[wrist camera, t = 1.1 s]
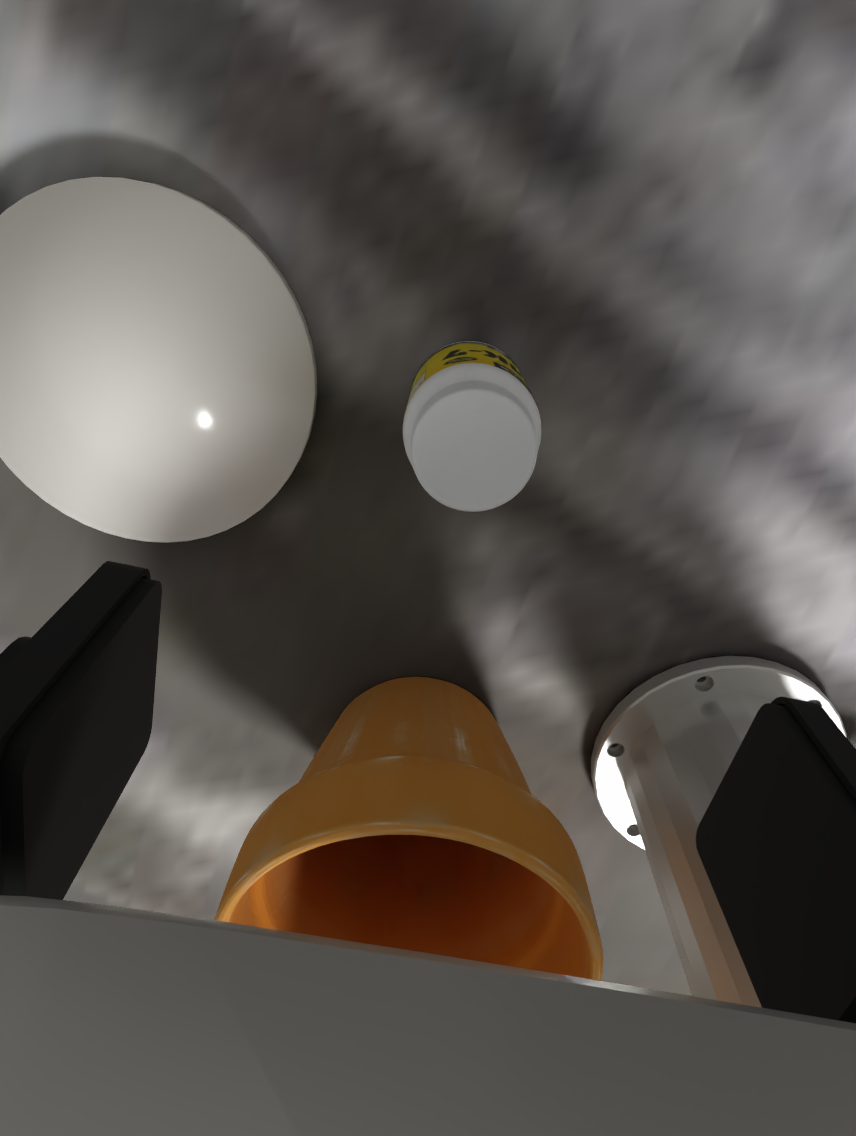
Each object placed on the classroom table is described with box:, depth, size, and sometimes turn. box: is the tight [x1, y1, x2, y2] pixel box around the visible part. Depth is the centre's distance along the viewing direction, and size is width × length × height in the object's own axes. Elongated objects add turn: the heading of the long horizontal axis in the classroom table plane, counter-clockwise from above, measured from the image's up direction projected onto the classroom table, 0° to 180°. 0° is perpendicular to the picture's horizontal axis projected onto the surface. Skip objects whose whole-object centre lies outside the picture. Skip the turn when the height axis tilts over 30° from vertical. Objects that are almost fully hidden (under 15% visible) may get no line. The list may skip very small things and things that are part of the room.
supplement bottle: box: [403, 341, 542, 512], centre depth 26 cm, size 5×5×8 cm
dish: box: [0, 177, 317, 543], centre depth 29 cm, size 14×14×2 cm
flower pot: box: [214, 677, 603, 981], centre depth 32 cm, size 14×14×13 cm
